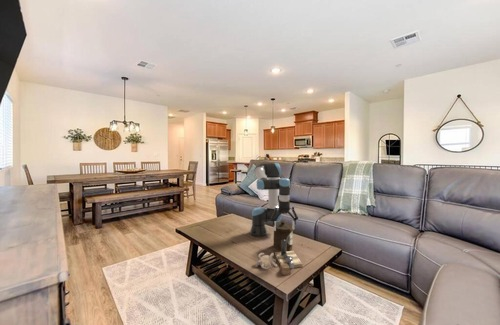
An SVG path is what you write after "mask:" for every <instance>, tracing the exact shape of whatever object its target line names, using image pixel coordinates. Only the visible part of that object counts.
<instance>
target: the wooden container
mask: <svg viewBox="0 0 500 325" xmlns="http://www.w3.org/2000/svg"><path fill="white" fill-rule="evenodd" d="M293 231H294V230H293V229H292V223H290V222H286V221H285V219H284V220H280V221H279V222H276V231H274V230H273V244H272V245H273V249H274V250H275V251H276V252H281V239H286V240H287V247H286V251H293V241H294V240H293V239H294V238H293V235H294V234H293Z"/></svg>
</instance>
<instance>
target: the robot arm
mask: <svg viewBox="0 0 500 325" xmlns="http://www.w3.org/2000/svg"><path fill="white" fill-rule="evenodd" d="M281 168H282V167H281V164H279V163H278V162H262V163H259V164H257V165H256V166H255V167H254V169H253V173H254V176H256V179H257V180H256V189H257V190H261V191H265V190H266V191H268V192H267V193H268V205H267V207H266V208H265V207H263V206H260V207H259V206H258V207H255V208H253V209H252V211H251V222H252V223H251V227H250V232H249V234H250V235H251V236H253V237H257V238H258V237H259V238H260V237H264V236H266V235H267V234H268V231H267V228H266V223H272V226H273V232H274V231H276V223H279V222H281V221H282V215H284V214H286V215H287V214H288V215H289V217H291V218H292V219H291V225H292V229H293V230H292V231H294V230H295V226H296V223H297V220H299V216H298V215H297V213H296V211H295V207H294V206H293V205H292V206H290V205H291V203H290V200H291V197H290V196H291V195H290V194H291V180H290V178H286V177H285V178H284V177H282V178H281V176H282V169H281ZM290 210H291V212H292V213H293V214H292V213H291V212H290Z"/></svg>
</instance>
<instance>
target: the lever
mask: <svg viewBox="0 0 500 325" xmlns="http://www.w3.org/2000/svg"><path fill="white" fill-rule="evenodd" d="M286 247H287V240H286V239H281V255H282V256H283V257H284V258H285V260H286V263H287V264H288V265H289V267H290V269H295V268H294V263H293V258H292V257H291V256H287V254H286Z"/></svg>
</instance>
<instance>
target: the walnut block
mask: <svg viewBox="0 0 500 325" xmlns="http://www.w3.org/2000/svg"><path fill="white" fill-rule="evenodd" d="M280 273H281V275H283V276H284V275H290V267H289V265H288V264H287V263H286V264H281V265H280Z"/></svg>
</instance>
